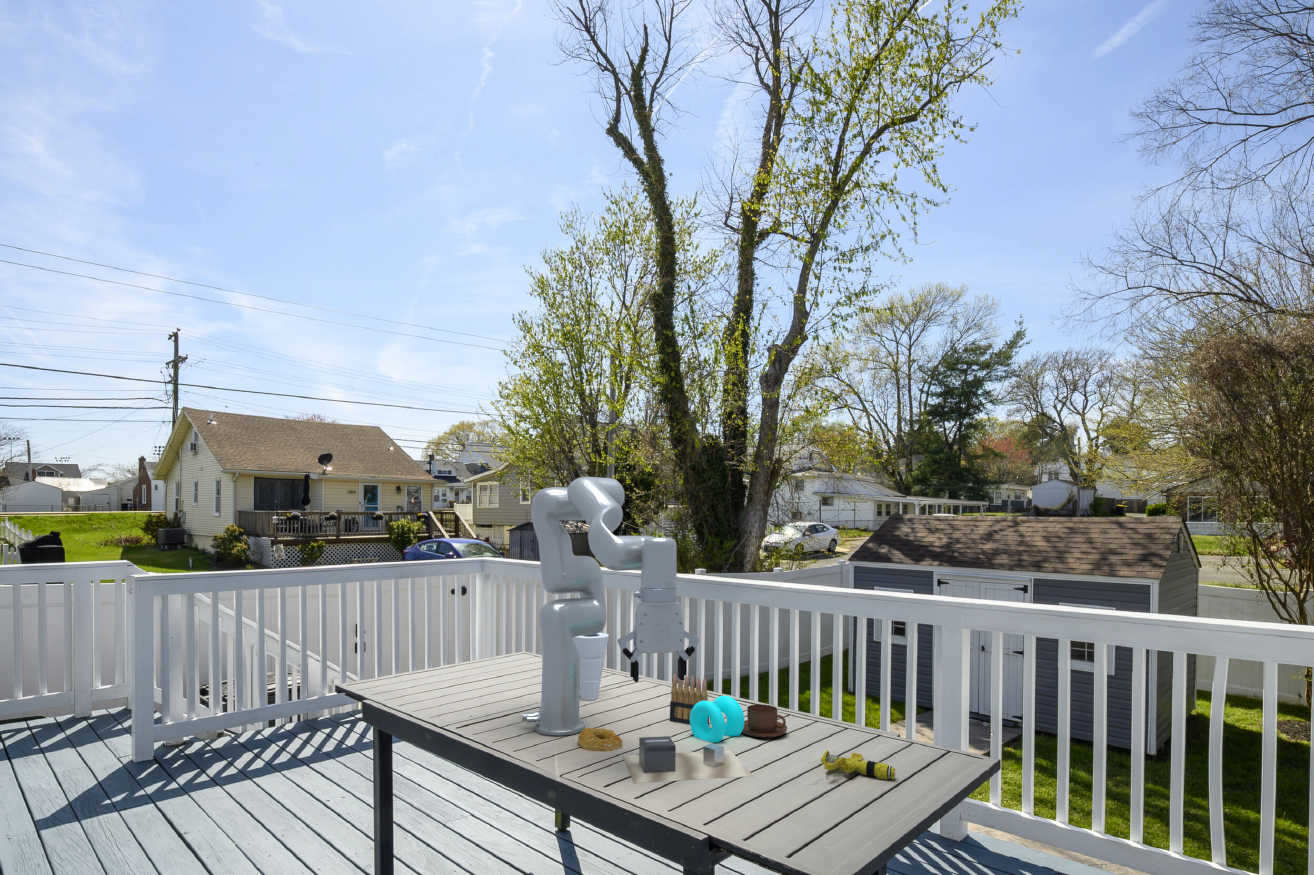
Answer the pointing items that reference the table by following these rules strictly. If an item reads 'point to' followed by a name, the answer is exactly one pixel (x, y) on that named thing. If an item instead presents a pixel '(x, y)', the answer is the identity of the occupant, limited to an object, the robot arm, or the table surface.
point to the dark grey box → (657, 754)
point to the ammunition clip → (686, 699)
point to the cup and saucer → (763, 722)
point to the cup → (591, 663)
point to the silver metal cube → (713, 755)
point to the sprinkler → (858, 766)
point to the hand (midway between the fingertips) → (658, 679)
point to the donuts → (717, 719)
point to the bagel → (599, 740)
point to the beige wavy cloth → (689, 768)
